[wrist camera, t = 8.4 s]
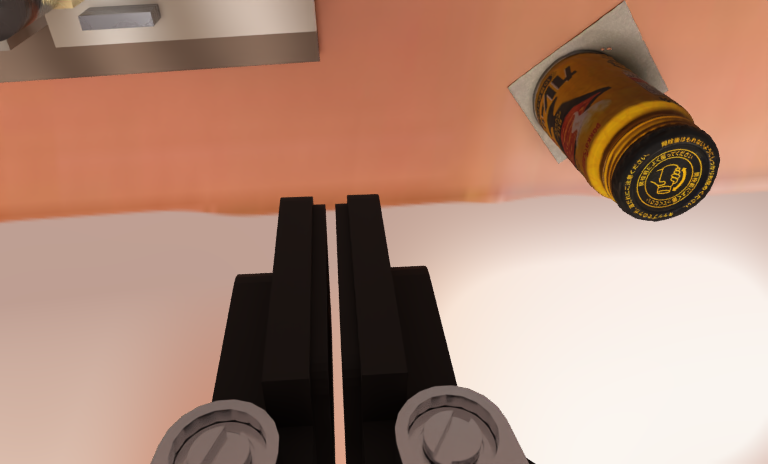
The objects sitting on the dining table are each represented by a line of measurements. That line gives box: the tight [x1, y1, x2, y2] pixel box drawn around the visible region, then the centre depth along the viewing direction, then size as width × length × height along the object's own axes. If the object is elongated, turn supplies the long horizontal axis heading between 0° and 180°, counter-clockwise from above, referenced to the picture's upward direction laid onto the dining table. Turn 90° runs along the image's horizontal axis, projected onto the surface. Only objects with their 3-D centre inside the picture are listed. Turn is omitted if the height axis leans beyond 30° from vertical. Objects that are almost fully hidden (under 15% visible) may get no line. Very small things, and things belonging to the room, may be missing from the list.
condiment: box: [508, 1, 720, 222], centre depth 33 cm, size 7×8×12 cm
